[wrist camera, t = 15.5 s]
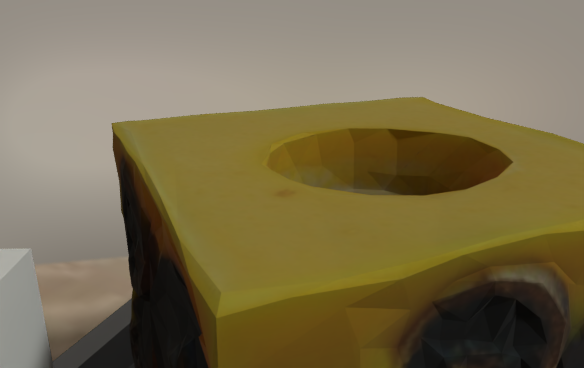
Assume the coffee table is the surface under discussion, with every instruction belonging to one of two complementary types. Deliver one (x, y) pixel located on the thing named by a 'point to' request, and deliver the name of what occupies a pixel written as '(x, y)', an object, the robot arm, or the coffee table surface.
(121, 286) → the coffee table surface
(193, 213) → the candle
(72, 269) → the coffee table surface
